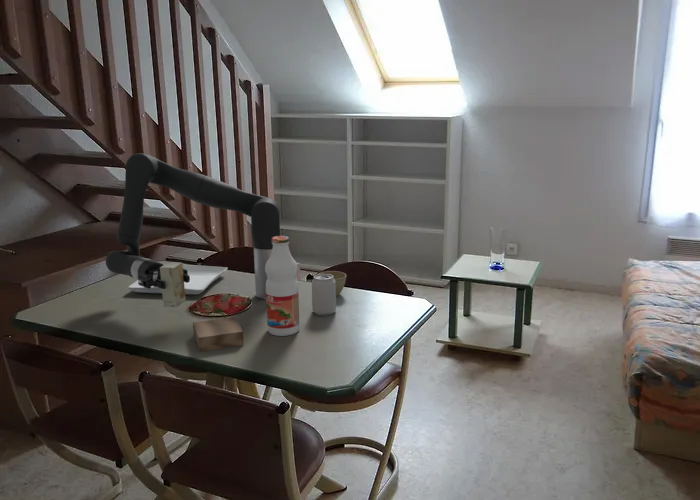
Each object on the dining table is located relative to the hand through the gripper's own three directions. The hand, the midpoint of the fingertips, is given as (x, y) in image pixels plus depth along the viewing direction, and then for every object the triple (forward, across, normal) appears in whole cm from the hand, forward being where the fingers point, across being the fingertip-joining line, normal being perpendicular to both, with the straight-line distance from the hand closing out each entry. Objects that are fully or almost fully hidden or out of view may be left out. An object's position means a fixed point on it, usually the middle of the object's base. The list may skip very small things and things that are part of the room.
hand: (176, 282), depth 178 cm
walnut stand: (+16, +2, +14) cm, 22 cm away
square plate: (-37, +22, +15) cm, 46 cm away
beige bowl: (+12, +52, +15) cm, 55 cm away
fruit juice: (+24, +19, +15) cm, 34 cm away
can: (+22, +38, +15) cm, 46 cm away
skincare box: (-2, 0, +8) cm, 8 cm away
